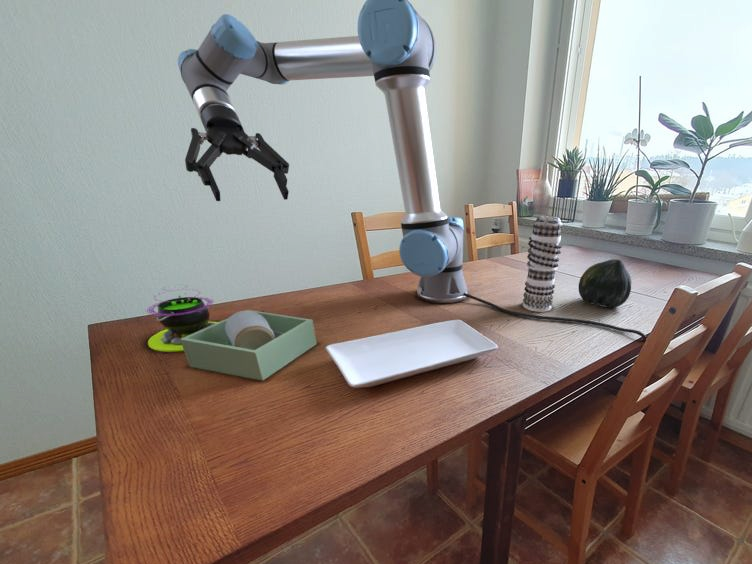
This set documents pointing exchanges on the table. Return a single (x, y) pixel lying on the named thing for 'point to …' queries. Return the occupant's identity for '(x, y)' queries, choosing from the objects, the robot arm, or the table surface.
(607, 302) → the squash
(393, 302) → the table surface
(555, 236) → the decorative candle
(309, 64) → the robot arm
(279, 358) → the bin
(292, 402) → the table surface
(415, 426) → the table surface
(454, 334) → the tray
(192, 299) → the toy cauldron
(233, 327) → the ceramic mug
